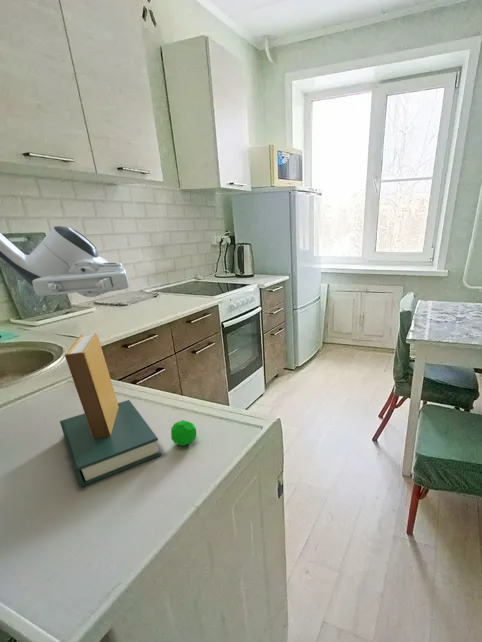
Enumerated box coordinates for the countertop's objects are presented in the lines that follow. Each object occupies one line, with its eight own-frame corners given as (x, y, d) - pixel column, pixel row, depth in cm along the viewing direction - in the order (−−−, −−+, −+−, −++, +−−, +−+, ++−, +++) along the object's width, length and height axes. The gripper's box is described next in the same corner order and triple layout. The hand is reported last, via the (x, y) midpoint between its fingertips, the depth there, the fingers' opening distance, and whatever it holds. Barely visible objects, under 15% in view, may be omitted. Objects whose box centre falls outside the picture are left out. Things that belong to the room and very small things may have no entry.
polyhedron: (178, 453, 68) (173, 432, 66) (169, 441, 72) (164, 422, 70) (202, 443, 71) (198, 423, 69) (192, 433, 74) (188, 413, 72)
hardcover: (65, 436, 75) (59, 421, 73) (133, 414, 82) (129, 399, 81) (81, 487, 61) (74, 469, 59) (161, 455, 68) (157, 437, 66)
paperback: (104, 409, 77) (80, 334, 70) (118, 406, 78) (97, 332, 70) (93, 439, 67) (64, 355, 59) (110, 435, 67) (84, 352, 60)
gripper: (39, 269, 86) (17, 277, 74) (127, 262, 91) (121, 269, 79) (48, 295, 89) (28, 307, 77) (133, 287, 94) (128, 297, 82)
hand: (76, 287), depth 78 cm, fingers open, 8 cm apart
